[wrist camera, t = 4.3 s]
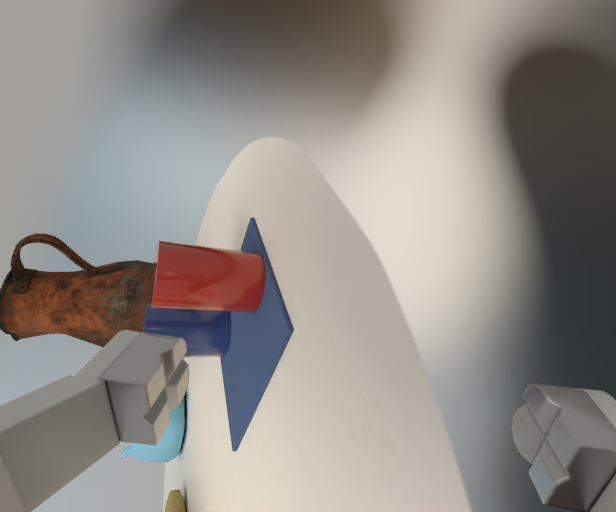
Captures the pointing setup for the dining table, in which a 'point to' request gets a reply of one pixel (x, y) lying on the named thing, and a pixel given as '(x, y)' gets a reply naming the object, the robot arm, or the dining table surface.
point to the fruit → (175, 502)
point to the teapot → (163, 440)
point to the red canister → (206, 278)
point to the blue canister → (191, 329)
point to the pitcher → (74, 297)
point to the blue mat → (253, 346)
